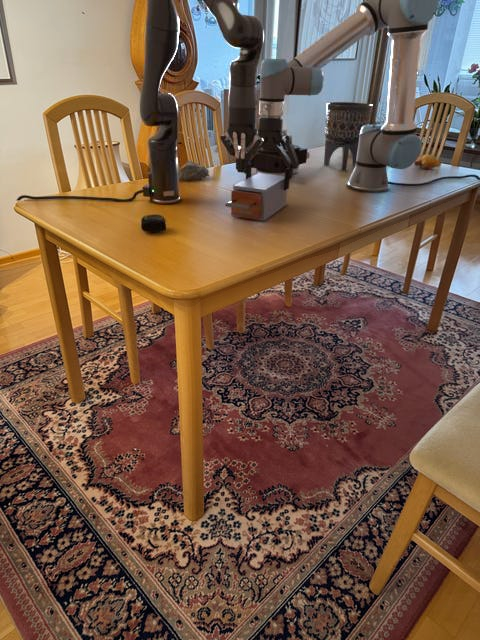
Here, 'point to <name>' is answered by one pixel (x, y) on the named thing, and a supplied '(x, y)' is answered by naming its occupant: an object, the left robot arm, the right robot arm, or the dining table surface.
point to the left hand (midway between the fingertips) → (241, 171)
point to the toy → (427, 162)
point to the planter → (345, 129)
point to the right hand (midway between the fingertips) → (266, 186)
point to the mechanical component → (277, 159)
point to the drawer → (245, 204)
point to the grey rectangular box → (266, 192)
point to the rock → (192, 172)
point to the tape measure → (153, 223)
